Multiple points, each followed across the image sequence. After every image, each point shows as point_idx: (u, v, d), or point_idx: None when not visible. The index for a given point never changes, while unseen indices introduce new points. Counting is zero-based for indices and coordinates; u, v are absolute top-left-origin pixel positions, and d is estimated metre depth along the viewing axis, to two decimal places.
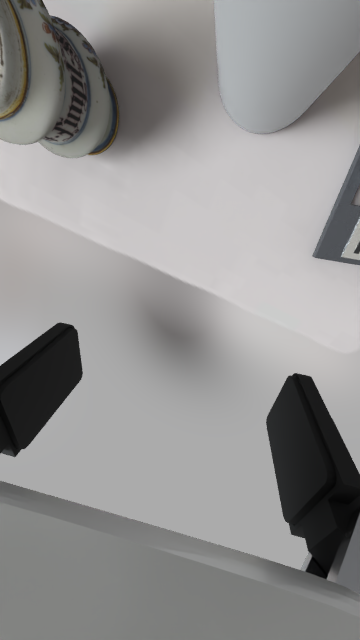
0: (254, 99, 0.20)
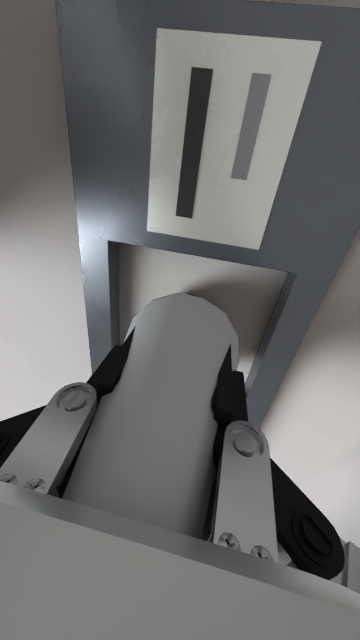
0: None
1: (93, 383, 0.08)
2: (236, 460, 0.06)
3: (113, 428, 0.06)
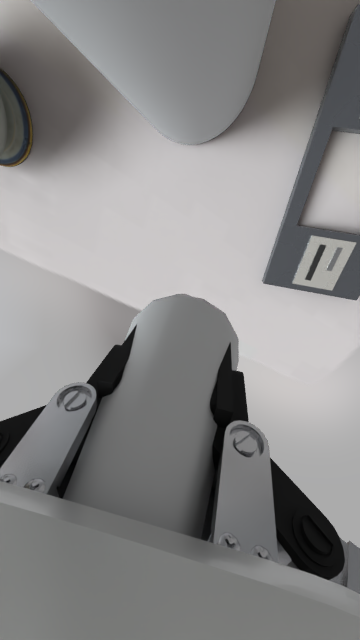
0: (140, 106, 0.16)
1: (93, 383, 0.08)
2: (236, 460, 0.06)
3: (113, 428, 0.06)
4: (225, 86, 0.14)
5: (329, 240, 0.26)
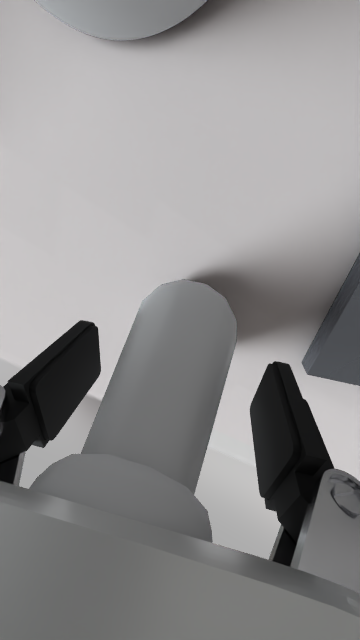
0: None
1: None
2: (333, 512, 0.05)
3: (131, 378, 0.07)
4: None
5: None
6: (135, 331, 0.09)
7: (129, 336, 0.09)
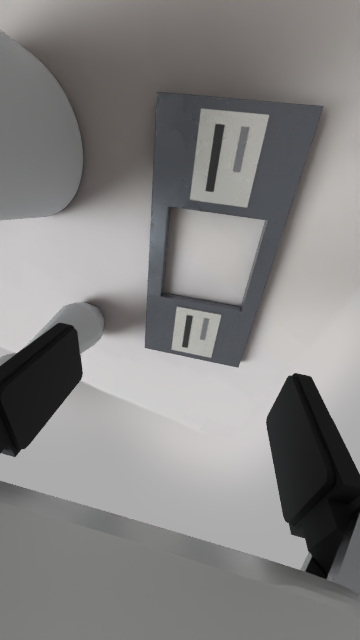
0: None
1: None
2: None
3: (33, 340, 0.21)
4: None
5: (194, 311, 0.24)
6: None
7: None
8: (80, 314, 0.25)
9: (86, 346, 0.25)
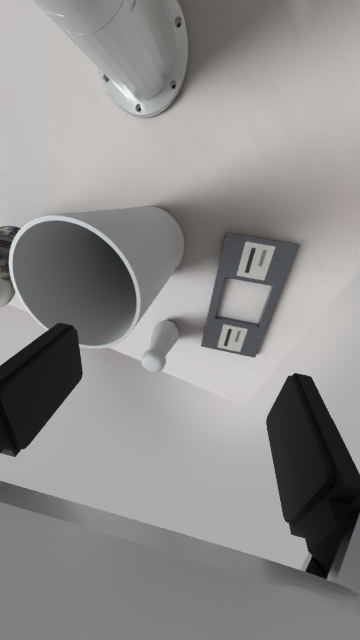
0: None
1: None
2: None
3: (154, 342, 0.42)
4: None
5: (233, 327, 0.45)
6: (154, 334, 0.44)
7: (152, 335, 0.44)
8: (170, 328, 0.45)
9: None
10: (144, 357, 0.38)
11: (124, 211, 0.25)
